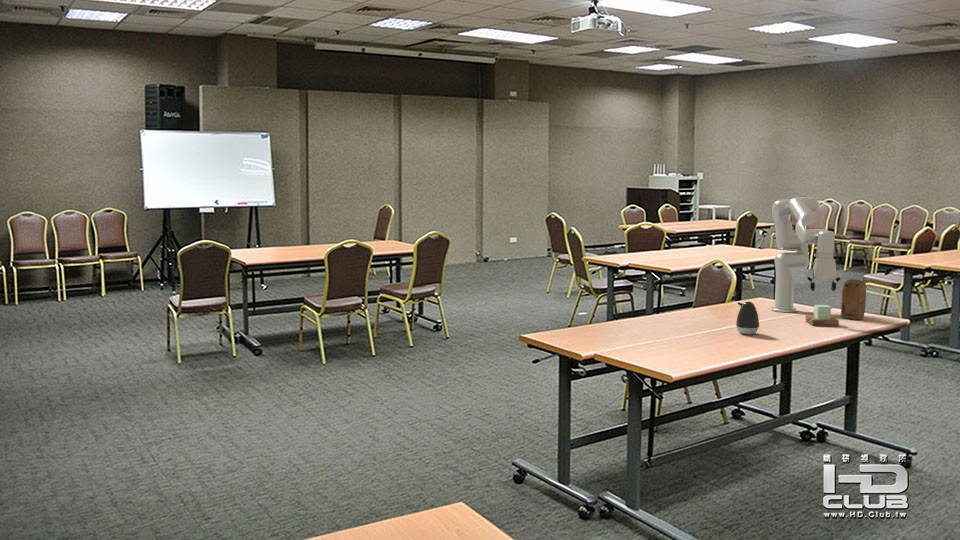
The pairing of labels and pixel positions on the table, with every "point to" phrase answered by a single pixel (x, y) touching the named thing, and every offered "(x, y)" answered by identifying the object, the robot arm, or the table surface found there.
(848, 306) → the block
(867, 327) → the table surface
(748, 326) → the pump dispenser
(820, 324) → the base
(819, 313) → the cube
